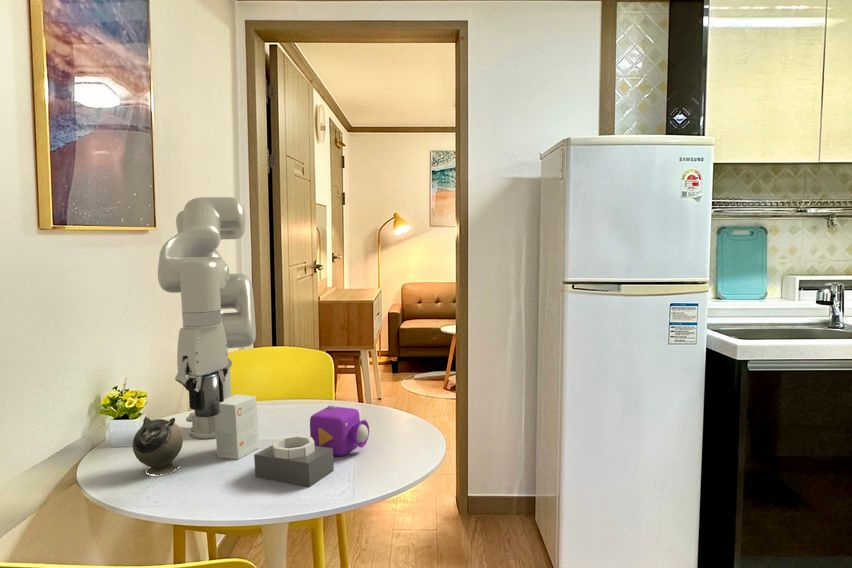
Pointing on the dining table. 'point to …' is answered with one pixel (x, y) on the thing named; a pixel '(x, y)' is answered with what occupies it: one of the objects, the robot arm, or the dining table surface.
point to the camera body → (294, 461)
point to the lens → (209, 396)
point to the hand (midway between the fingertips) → (207, 404)
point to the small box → (237, 427)
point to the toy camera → (339, 429)
